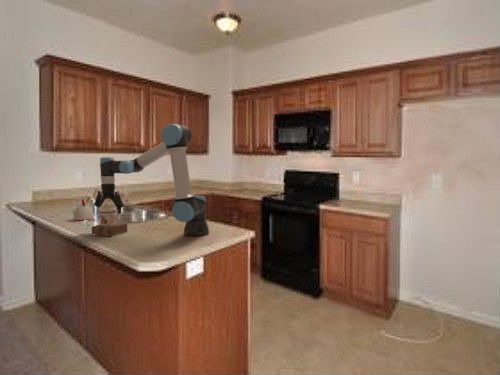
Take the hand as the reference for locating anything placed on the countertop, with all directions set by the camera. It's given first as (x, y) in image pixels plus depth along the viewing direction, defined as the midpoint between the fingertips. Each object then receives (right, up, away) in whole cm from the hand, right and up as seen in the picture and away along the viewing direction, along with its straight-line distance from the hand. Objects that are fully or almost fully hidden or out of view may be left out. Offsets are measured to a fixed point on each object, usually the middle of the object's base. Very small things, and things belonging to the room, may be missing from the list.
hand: (109, 218), depth 199 cm
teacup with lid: (0, -4, +1) cm, 5 cm away
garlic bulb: (-36, -5, +41) cm, 55 cm away
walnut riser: (0, -9, +1) cm, 9 cm away
